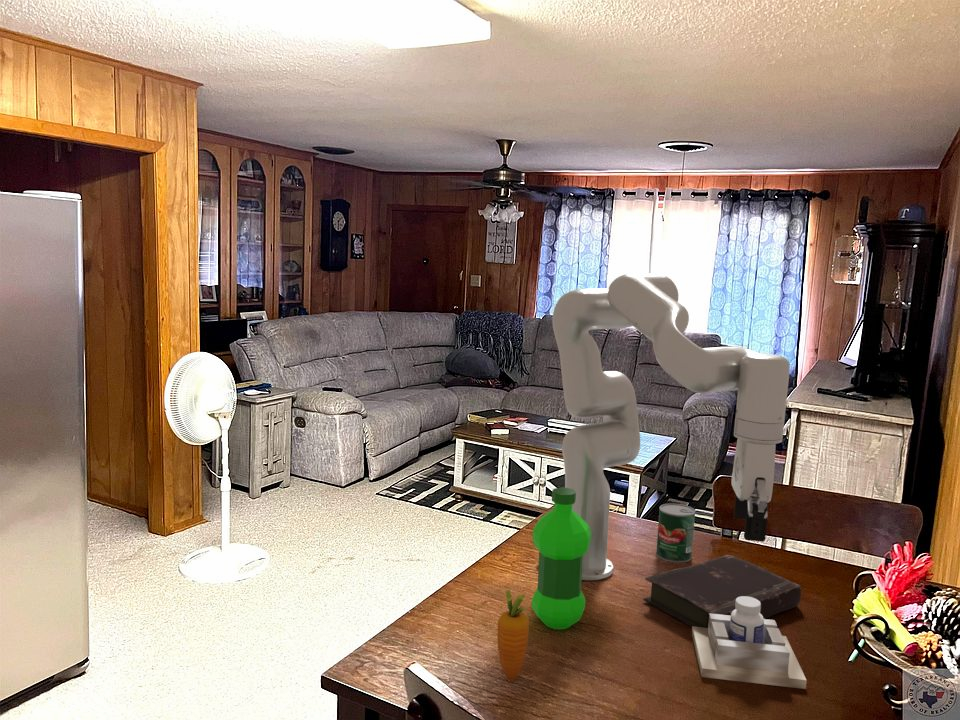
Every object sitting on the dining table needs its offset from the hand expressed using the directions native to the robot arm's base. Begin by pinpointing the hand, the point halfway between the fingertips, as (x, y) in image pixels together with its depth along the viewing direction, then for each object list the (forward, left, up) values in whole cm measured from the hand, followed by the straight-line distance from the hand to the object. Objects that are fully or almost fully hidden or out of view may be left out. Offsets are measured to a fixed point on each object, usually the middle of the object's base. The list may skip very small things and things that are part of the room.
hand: (748, 528), depth 125 cm
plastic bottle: (-31, +4, -23) cm, 39 cm away
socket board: (+1, -2, -22) cm, 23 cm away
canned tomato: (-7, +41, -23) cm, 48 cm away
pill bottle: (+1, -2, -21) cm, 21 cm away
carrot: (-37, -17, -23) cm, 47 cm away
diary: (0, +19, -23) cm, 29 cm away
